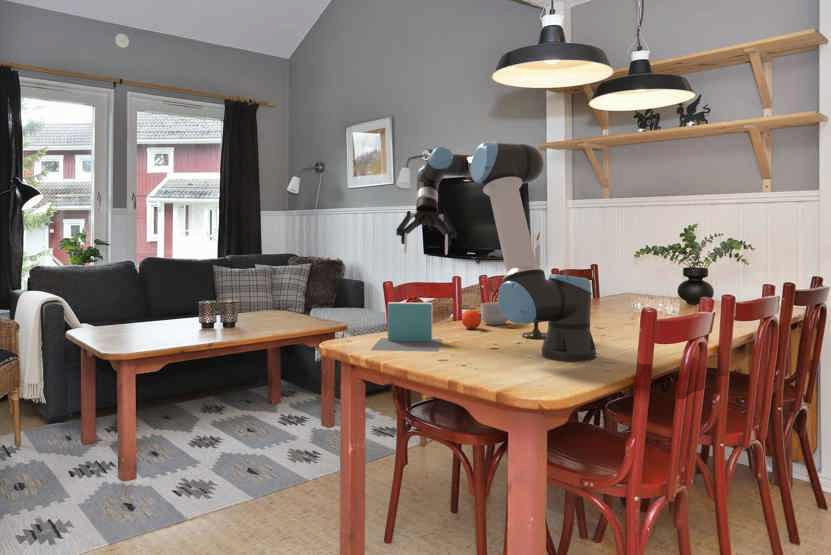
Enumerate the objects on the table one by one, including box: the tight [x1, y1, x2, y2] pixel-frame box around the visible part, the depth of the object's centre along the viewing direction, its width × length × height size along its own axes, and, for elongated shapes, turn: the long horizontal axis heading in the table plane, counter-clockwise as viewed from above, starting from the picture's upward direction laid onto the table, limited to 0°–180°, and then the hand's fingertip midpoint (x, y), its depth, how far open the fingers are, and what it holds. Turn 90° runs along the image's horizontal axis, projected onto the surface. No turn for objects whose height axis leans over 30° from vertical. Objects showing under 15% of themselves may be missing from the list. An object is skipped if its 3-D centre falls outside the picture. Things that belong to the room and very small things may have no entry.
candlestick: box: [521, 231, 547, 340], centre depth 217 cm, size 11×11×35 cm
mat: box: [370, 337, 443, 352], centre depth 203 cm, size 20×20×1 cm
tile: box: [387, 301, 433, 341], centre depth 209 cm, size 3×14×12 cm, turn 84°
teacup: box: [479, 301, 508, 326], centre depth 246 cm, size 14×11×8 cm
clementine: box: [459, 308, 482, 330], centre depth 235 cm, size 8×7×7 cm
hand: (425, 251), depth 217 cm, fingers open, 13 cm apart
